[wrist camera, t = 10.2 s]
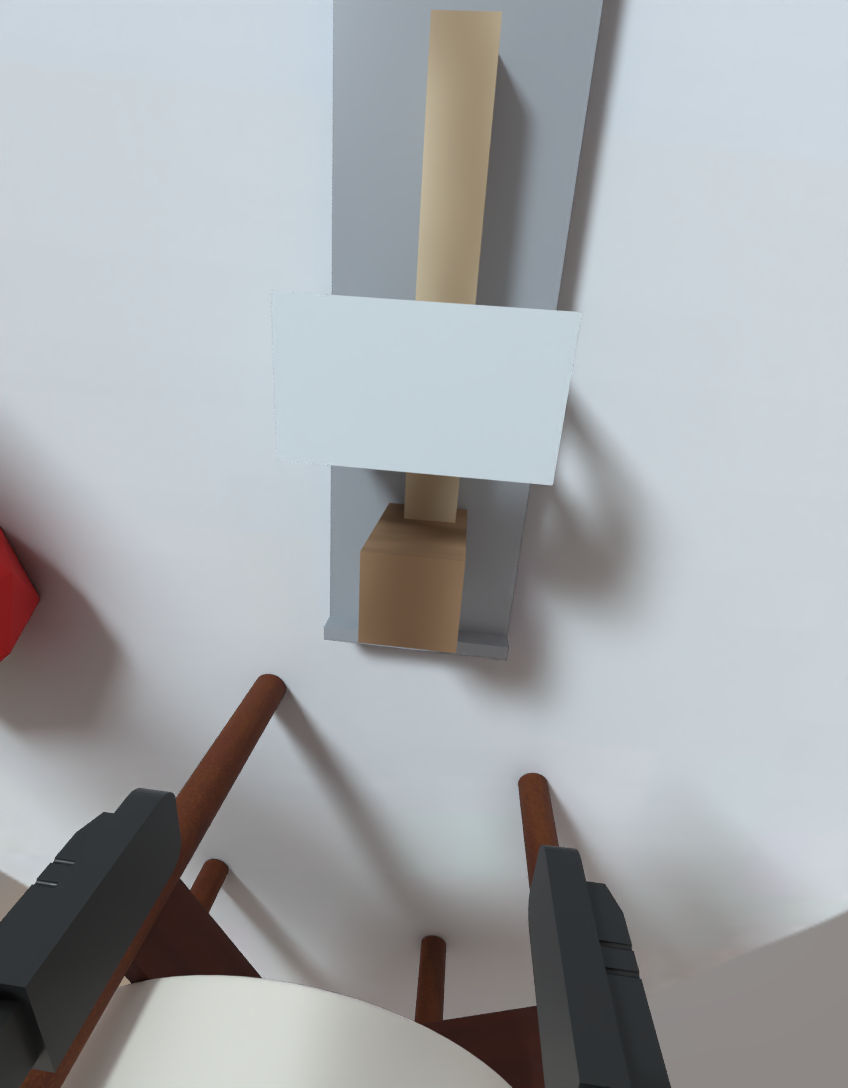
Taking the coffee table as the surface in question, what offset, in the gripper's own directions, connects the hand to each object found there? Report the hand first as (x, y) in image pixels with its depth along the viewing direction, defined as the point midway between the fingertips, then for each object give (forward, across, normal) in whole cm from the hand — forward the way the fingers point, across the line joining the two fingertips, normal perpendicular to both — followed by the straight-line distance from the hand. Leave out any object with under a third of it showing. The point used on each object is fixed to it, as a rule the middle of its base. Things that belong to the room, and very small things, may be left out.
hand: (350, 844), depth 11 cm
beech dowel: (+16, 0, -12) cm, 20 cm away
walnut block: (+16, 0, -1) cm, 17 cm away
